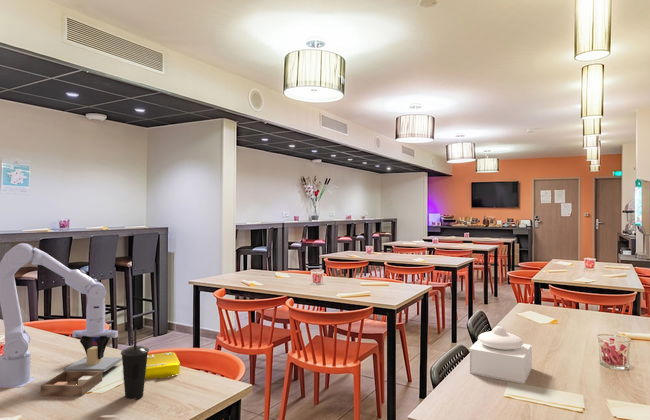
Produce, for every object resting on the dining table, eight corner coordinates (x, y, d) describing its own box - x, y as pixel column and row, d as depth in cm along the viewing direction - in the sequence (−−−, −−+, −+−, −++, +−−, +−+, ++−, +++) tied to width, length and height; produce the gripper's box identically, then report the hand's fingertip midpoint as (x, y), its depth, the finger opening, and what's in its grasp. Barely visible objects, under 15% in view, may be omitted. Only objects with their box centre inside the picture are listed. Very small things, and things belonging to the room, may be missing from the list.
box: (40, 397, 129) (40, 385, 129) (64, 381, 141) (64, 370, 141) (81, 397, 129) (81, 385, 129) (102, 382, 141) (102, 371, 141)
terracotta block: (51, 393, 131) (51, 385, 131) (57, 389, 134) (57, 381, 134) (61, 393, 131) (61, 385, 131) (67, 389, 134) (67, 381, 134)
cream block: (77, 386, 136) (78, 379, 136) (83, 382, 139) (83, 375, 139) (87, 386, 136) (87, 379, 136) (92, 382, 139) (92, 376, 139)
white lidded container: (531, 369, 158) (532, 324, 158) (524, 385, 143) (524, 336, 143) (481, 360, 168) (481, 318, 168) (468, 374, 152) (469, 328, 152)
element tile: (132, 383, 141) (132, 368, 141) (129, 369, 154) (129, 355, 155) (180, 376, 148) (180, 362, 148) (174, 362, 161) (174, 349, 161)
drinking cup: (153, 393, 132) (154, 327, 133) (135, 404, 125) (136, 333, 125) (133, 390, 135) (134, 324, 135) (114, 400, 128) (115, 331, 128)
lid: (63, 371, 143) (64, 353, 143) (85, 359, 156) (85, 342, 156) (103, 372, 143) (104, 353, 143) (122, 360, 156) (122, 343, 156)
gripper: (67, 320, 146) (67, 362, 146) (111, 321, 146) (110, 362, 146) (79, 316, 153) (78, 355, 153) (121, 316, 153) (120, 355, 153)
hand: (95, 358), depth 150 cm, fingers closed on lid, 3 cm apart
